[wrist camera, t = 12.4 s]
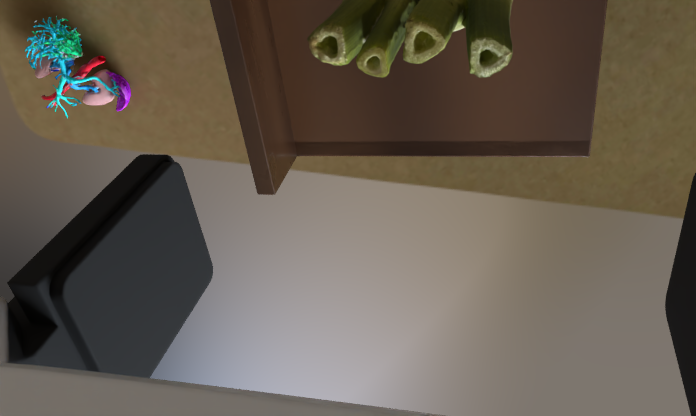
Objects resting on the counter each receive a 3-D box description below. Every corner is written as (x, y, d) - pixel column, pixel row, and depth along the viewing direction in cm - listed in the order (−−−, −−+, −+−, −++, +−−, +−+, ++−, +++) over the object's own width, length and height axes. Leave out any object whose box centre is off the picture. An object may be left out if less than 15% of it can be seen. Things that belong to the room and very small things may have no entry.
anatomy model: (62, 156, 46) (108, 121, 42) (-22, 70, 43) (19, 23, 39) (104, 122, 49) (151, 87, 45) (29, 40, 47) (72, -5, 43)
